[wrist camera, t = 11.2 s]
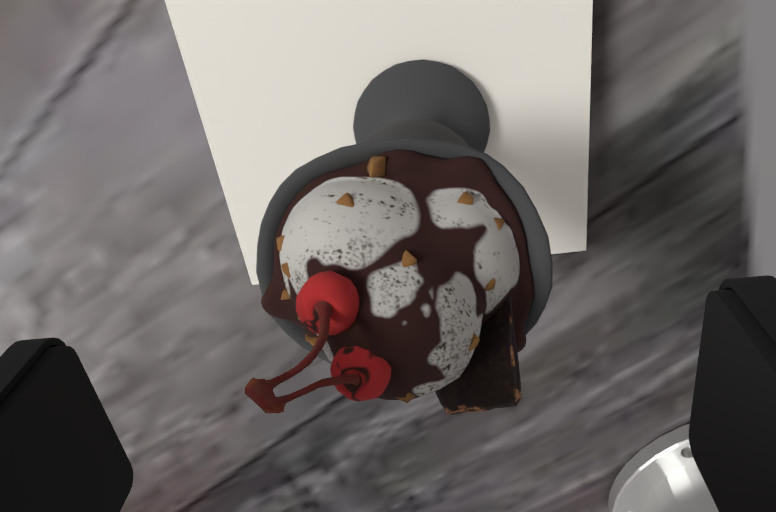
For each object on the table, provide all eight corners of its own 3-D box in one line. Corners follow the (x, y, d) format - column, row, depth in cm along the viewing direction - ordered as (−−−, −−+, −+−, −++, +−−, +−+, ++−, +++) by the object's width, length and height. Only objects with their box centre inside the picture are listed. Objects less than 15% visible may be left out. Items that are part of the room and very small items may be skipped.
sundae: (308, 53, 22) (96, 299, 9) (503, 16, 20) (590, 239, 8) (350, 220, 25) (241, 579, 12) (521, 197, 24) (602, 567, 11)
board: (589, -242, 18) (599, -248, 17) (580, 238, 26) (586, 250, 25) (129, -159, 19) (115, -160, 18) (257, 272, 27) (252, 284, 27)
